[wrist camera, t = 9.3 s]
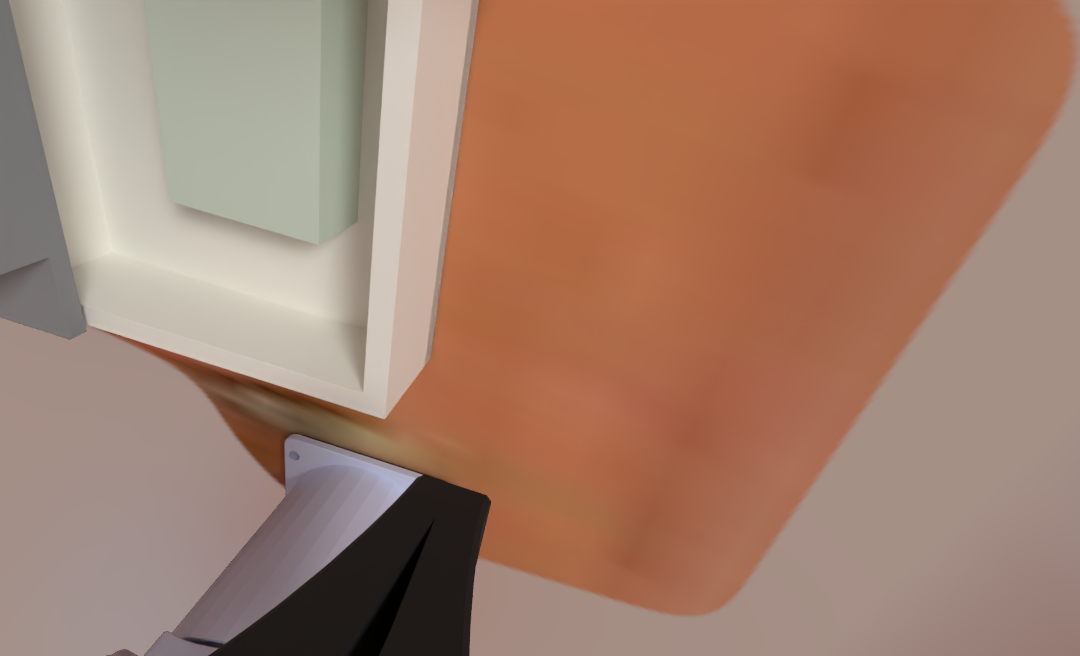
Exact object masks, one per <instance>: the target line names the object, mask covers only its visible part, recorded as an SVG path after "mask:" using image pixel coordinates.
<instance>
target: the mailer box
mask: <svg viewBox="0 0 1080 656" xmlns="http://www.w3.org/2000/svg"><path fill="white" fill-rule="evenodd" d="M9 4H10V8H11V12H12V16H13V21H14V25H15V29H16V33H17V38H18V42H19V46H20V50H21V55H22V59H23V63H24V67H25V72H26V76H27V80H28V84H29V89H30V93H31V97H32V101H33V106H34V110H35V114H36V118H37V123H38V127H39V131H40V135H41V140H42V144H43V148H44V152H45V157H46V161H47V165H48V169H49V174H50V178H51V182H52V186H53V191H54V195H55V199H56V203H57V208H58V212H59V216H60V220H61V225H62V229H63V233H64V237H65V242H66V246H67V250H68V254H69V259H70V263H71V267H72V271H73V276H74V280H75V284H76V288H77V293H78V297H79V301H80V305H81V310H82V314H83V318H84V322H85V324H86V325H89V326H92V327H95V328H99V329H102V330H105V331H108V332H111V333H114V334H117V335H121V336H124V337H127V338H130V339H133V340H136V341H140V342H143V343H146V344H149V345H152V346H155V347H158V348H162V349H165V350H168V351H171V352H174V353H177V354H180V355H184V356H187V357H190V358H193V359H196V360H199V361H203V362H206V363H209V364H212V365H215V366H218V367H221V368H225V369H228V370H231V371H234V372H237V373H240V374H243V375H247V376H250V377H253V378H256V379H259V380H262V381H266V382H269V383H272V384H275V385H278V386H281V387H284V388H288V389H291V390H294V391H297V392H300V393H303V394H306V395H310V396H313V397H316V398H319V399H322V400H325V401H329V402H332V403H335V404H338V405H341V406H344V407H347V408H351V409H354V410H357V411H360V412H363V413H366V414H369V415H373V416H376V417H379V418H382V419H385V418H386V417H387V415H388V414H389V413H390V411H391V410H392V409H393V407H394V406H395V405H396V403H397V402H398V401H399V399H400V398H401V397H402V395H403V394H404V393H405V391H406V390H407V389H408V387H409V386H410V385H411V383H412V382H413V381H414V379H415V378H416V377H417V375H418V374H419V373H420V371H421V370H422V369H423V367H424V366H425V365H426V363H427V362H428V361H429V359H430V358H431V351H432V343H433V336H434V329H435V321H436V314H437V307H438V299H439V292H440V284H441V277H442V270H443V262H444V255H445V248H446V240H447V233H448V225H449V218H450V211H451V203H452V196H453V188H454V181H455V174H456V166H457V159H458V152H459V144H460V137H461V129H462V122H463V115H464V107H465V100H466V92H467V85H468V78H469V70H470V63H471V56H472V48H473V41H474V33H475V26H476V19H477V11H478V4H479V0H9Z"/></svg>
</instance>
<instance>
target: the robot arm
mask: <svg viewBox="0 0 1080 656" xmlns="http://www.w3.org/2000/svg"><path fill="white" fill-rule="evenodd" d="M284 450H285V486H286V497H285V498H284V499H283V500H282V502H281V503H280V504H279V505H278V506H277V508H276V509H275V510H274V511H273V512H272V514H271V515H270V516H269V517H268V518H267V520H266V521H265V522H264V523H263V524H262V526H261V527H260V528H259V529H258V531H257V532H256V533H255V534H254V535H253V536H252V538H251V539H250V540H249V541H248V542H247V544H246V545H245V546H244V547H243V548H242V550H241V551H240V552H239V553H238V554H237V556H236V557H235V558H234V559H233V560H232V561H231V563H230V564H229V565H228V566H227V567H226V569H225V570H224V571H223V572H222V573H221V575H220V576H219V577H218V578H217V579H216V581H215V582H214V583H213V584H212V585H211V587H210V588H209V589H208V590H207V591H206V593H205V594H204V595H203V596H202V597H201V599H200V600H199V601H198V602H197V603H196V605H195V606H194V607H193V608H192V609H191V611H190V612H189V613H188V614H187V615H186V616H185V618H184V619H183V620H182V621H181V623H180V624H179V625H178V626H177V627H176V629H175V630H174V631H173V632H172V633H170V632H168V631H166V632H163V634H162V635H161V636H160V637H159V638H158V640H157V641H156V642H155V643H154V644H153V645H152V646H151V648H150V649H149V650H148V651H147V652H146V654H145V655H144V656H469V645H470V624H471V610H472V597H473V585H474V584H473V583H474V575H475V566H476V563H477V559H478V555H479V551H480V547H481V542H482V538H483V534H484V530H485V526H486V521H487V517H488V513H489V509H490V505H491V501H490V499H489V498H488V497H487V495H484V494H481V493H478V492H475V491H472V490H469V489H466V488H462V487H459V486H456V485H453V484H450V483H447V482H444V481H441V480H438V479H435V478H432V477H429V476H426V475H422V474H419V473H416V472H413V471H410V470H407V469H404V468H401V467H398V466H395V465H391V464H388V463H385V462H382V461H379V460H376V459H373V458H370V457H367V456H364V455H361V454H357V453H354V452H351V451H348V450H345V449H342V448H339V447H336V446H333V445H330V444H327V443H324V442H320V441H317V440H314V439H311V438H308V437H305V436H302V435H299V434H291V435H290V436H289V437H288V438H287V439H286V440H285V443H284ZM107 656H137V655H135V654H134V653H132V652H130V651H129V650H126V649H123V650H119V651H117V652H115V653H114V654H112V655H107Z"/></svg>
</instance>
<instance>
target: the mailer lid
mask: <svg viewBox="0 0 1080 656" xmlns="http://www.w3.org/2000/svg"><path fill="white" fill-rule="evenodd" d="M0 317H1V318H4V319H7V320H10V321H13V322H16V323H19V324H23V325H26V326H29V327H32V328H35V329H38V330H41V331H44V332H48V333H51V334H54V335H57V336H60V337H63V338H66V339H69V340H70V339H72V338H74V337H76V336H78V335H80V334H82V333H84V332H86V327H85V322H84V318H83V314H82V310H81V305H80V301H79V297H78V293H77V288H76V284H75V280H74V276H73V271H72V267H71V263H70V259H69V254H68V250H67V246H66V242H65V237H64V233H63V229H62V225H61V220H60V216H59V212H58V208H57V203H56V199H55V195H54V191H53V186H52V182H51V178H50V174H49V169H48V165H47V161H46V157H45V152H44V148H43V144H42V140H41V135H40V131H39V127H38V123H37V118H36V114H35V110H34V106H33V101H32V97H31V93H30V89H29V84H28V80H27V76H26V72H25V67H24V63H23V59H22V55H21V50H20V46H19V42H18V38H17V33H16V29H15V25H14V21H13V16H12V12H11V8H10V4H9V0H0Z"/></svg>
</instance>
